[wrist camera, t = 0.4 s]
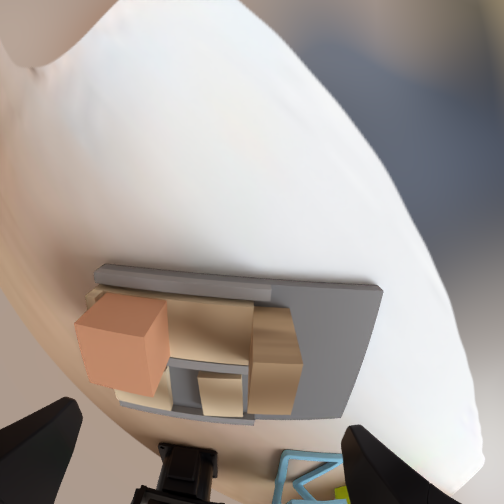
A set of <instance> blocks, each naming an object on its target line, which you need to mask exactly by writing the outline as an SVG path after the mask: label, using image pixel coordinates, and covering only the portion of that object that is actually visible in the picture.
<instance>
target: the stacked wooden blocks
mask: <svg viewBox="0 0 504 504" xmlns="http://www.w3.org/2000/svg"><path fill="white" fill-rule="evenodd" d="M106 293H113V294H120V295H127V296H134V297H141V298H149V299H157V300H165V301H167V316H168V332H169V346H170V357H174V358H181V359H189V360H197V361H206V362H215V363H226V364H237V365H248V363H249V368H248V408H247V414H268V415H291V412H292V408H293V404H294V400H295V397H296V393H297V389H298V384H299V380H300V376H301V372H302V368H303V361H302V357H301V353H300V348H299V344H298V340H297V336H296V332H295V328H294V324H293V320H292V316H291V312H290V308H275V307H260V306H254V301H253V300H240V299H228V298H216V297H206V296H195V295H186V294H176V293H167V292H158V291H150V290H142V289H134V288H126V287H119V286H112V285H105V284H99V285H98V286H97V287H95V288H94V289H93V290H92V291H91V292H89V293H88V294H87V295H86V296H85V299H86V305H87V310H89V309H90V308H91V307H92V306H93V305H94V304H95V303H96V302H97V301H98V300H99V299H100V298H101V297H102V296H104V295H105V294H106Z"/></svg>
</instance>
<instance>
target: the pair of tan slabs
mask: <svg viewBox="0 0 504 504" xmlns="http://www.w3.org/2000/svg"><path fill="white" fill-rule="evenodd" d="M197 378H198V385H199V391H200V397H201V403H202V408H203V414H204V415H205V416H224V417H243V390H242V374H232V373H220V372H211V371H202V370H199V373H198V377H197ZM114 391H115V395H116V398H117V400H121V401H125V402H129V403H133V404H138V405H142V406H147V407H152V408H157V409H162V410H167V411H171V409H172V406H173V397H172V389H171V381H170V372H169V366H166V368H165V370H164V372H163V375H162V377H161V380H160V382H159V385H158V387H157V390H156V392H155V395H154V397H147V396H143V395H138V394H133V393H129V392H125V391H121V390H117V389H114Z"/></svg>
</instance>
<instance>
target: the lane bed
mask: <svg viewBox="0 0 504 504" xmlns="http://www.w3.org/2000/svg"><path fill="white" fill-rule="evenodd" d="M94 280H95V283H99V284H105V285H112V286H119V287H126V288H134V289H142V290H150V291H158V292H167V293H176V294H186V295H195V296H206V297H216V298H228V299H240V300H253V301H254V306H260V307H275V308H290V312H291V316H292V320H293V324H294V328H295V332H296V336H297V340H298V344H299V348H300V353H301V357H302V361H303V368H302V372H301V376H300V380H299V384H298V389H297V393H296V397H295V400H294V404H293V408H292V412H291V415H268V414H247V408H248V368H249V363H248V365H237V364H226V363H215V362H206V361H197V360H189V359H181V358H174V357H170V358H169V360H168V363H167V365H166V366H169V372H170V381H171V389H172V397H173V406H172V409H171V411H167V410H162V409H157V408H152V407H147V406H142V405H138V404H133V403H129V402H125V401H121V400H119V402H120V405H121V406H123V407H127V408H132V409H136V410H140V411H145V412H150V413H154V414H160V415H165V416H171V417H176V418H183V419H189V420H197V421H204V422H213V423H223V424H235V425H251V426H254V421H255V419H263V420H312V419H332V418H341V416H342V414H343V412H344V409H345V407H346V405H347V402H348V400H349V397H350V395H351V392H352V389H353V387H354V384H355V382H356V379H357V376H358V373H359V371H360V368H361V365H362V362H363V359H364V356H365V353H366V350H367V347H368V344H369V341H370V338H371V334H372V331H373V328H374V324H375V321H376V317H377V314H378V310H379V307H380V303H381V299H382V295H383V290H382V289H381V288H380V287H379V286H377V285H356V284H338V283H321V282H305V281H290V280H275V279H262V278H249V277H236V276H224V275H212V274H201V273H190V272H179V271H169V270H159V269H149V268H139V267H130V266H120V265H111V264H104V265H103V266H101V267H100V268H99V269H97V270H96V271H94ZM199 370H202V371H211V372H220V373H232V374H242V390H243V417H224V416H205V415H204V414H203V408H202V403H201V397H200V391H199V385H198V378H197V377H198V373H199Z"/></svg>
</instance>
